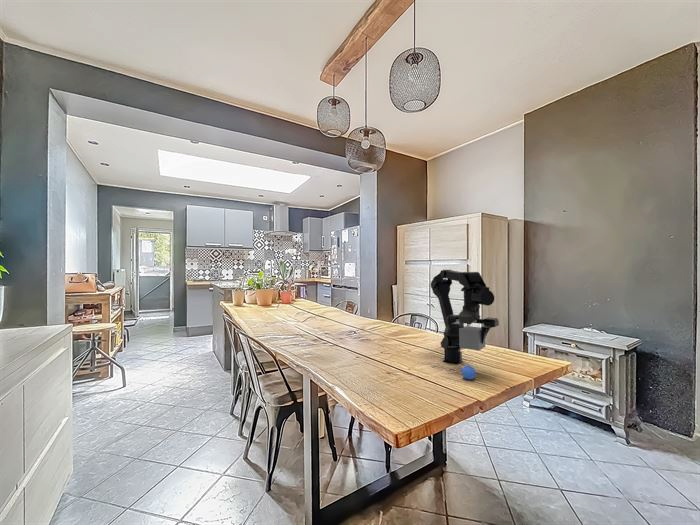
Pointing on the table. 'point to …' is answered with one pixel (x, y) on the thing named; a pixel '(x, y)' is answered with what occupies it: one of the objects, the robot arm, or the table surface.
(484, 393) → the table surface
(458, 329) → the robot arm
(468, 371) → the ball
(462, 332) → the concrete-looking gray cube
